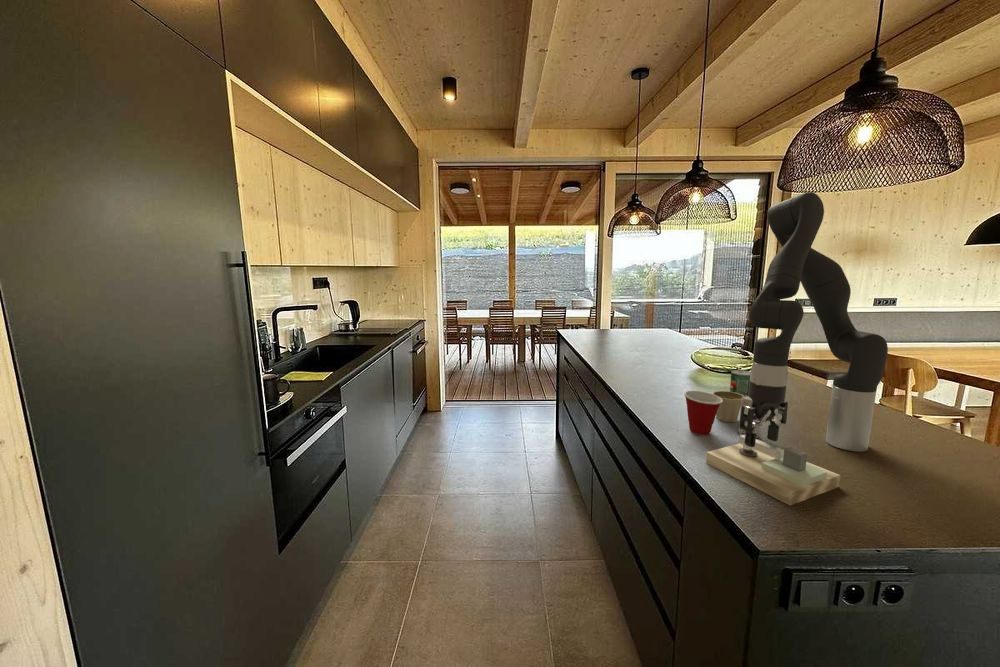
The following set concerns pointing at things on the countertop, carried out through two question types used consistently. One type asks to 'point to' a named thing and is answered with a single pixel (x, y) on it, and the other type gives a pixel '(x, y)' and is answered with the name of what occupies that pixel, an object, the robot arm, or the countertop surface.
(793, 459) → the snap lid
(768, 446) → the grey long bar
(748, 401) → the energy drink
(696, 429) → the plastic cup
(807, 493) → the latch base
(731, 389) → the canned tomato
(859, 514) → the countertop surface
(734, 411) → the flower pot
